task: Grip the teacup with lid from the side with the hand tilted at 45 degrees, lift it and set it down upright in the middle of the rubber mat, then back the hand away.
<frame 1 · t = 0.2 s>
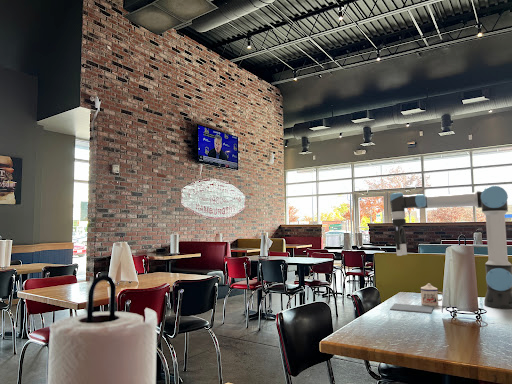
hand: (402, 255, 225), 27 cm above the table, tool pointing down, fingers open, 13 cm apart
teacup with lid: (432, 305, 216), on the table
mat: (412, 308, 206), on the table
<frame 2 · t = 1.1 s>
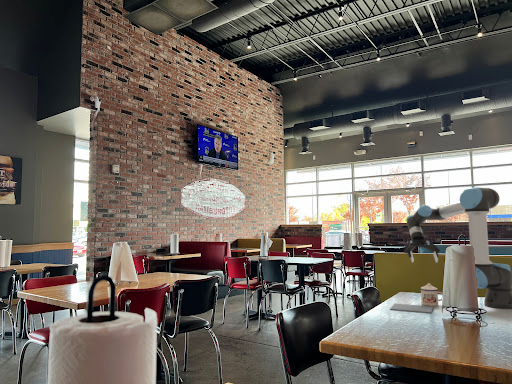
hand: (425, 261, 228), 23 cm above the table, tool tilted 45°, fingers open, 13 cm apart
nothing on the table moved.
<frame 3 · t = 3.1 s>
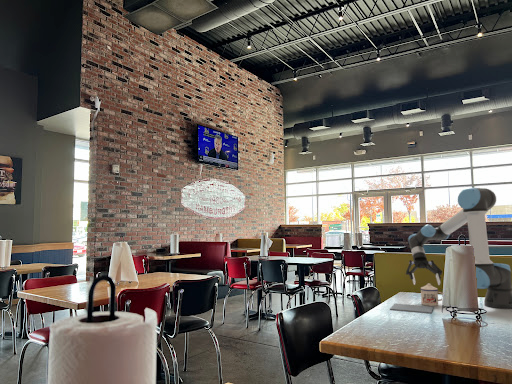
hand: (427, 283, 223), 11 cm above the table, tool tilted 45°, fingers open, 13 cm apart
nothing on the table moved.
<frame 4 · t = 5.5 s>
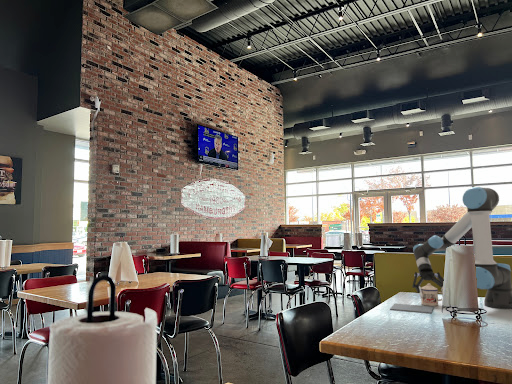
hand: (433, 297, 213), 4 cm above the table, tool tilted 45°, fingers closed on teacup with lid, 12 cm apart
teacup with lid: (432, 305, 216), on the table, touching gripper
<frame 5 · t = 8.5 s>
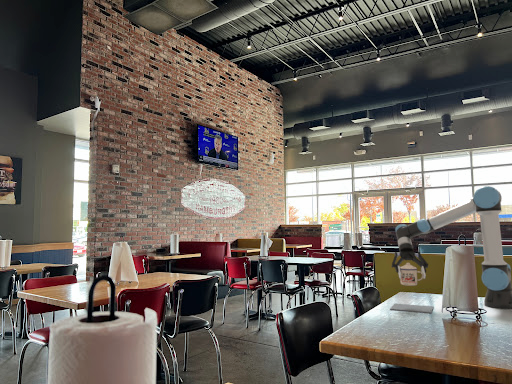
hand: (412, 277, 208), 17 cm above the table, tool tilted 45°, fingers closed on teacup with lid, 12 cm apart
teacup with lid: (411, 284, 210), point 12 cm above the table, touching gripper
when the fingers open (6 cm above the table, at t = 11.8 s): teacup with lid drops 1 cm, resting on mat.
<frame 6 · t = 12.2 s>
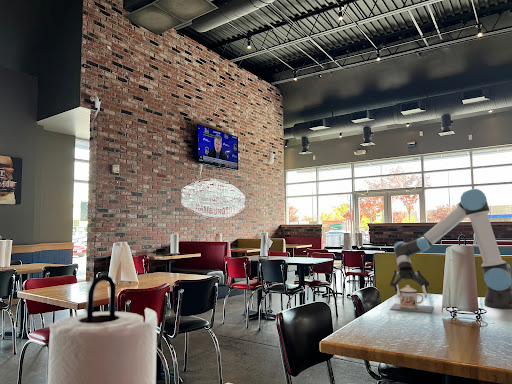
hand: (412, 296, 204), 7 cm above the table, tool tilted 45°, fingers open, 13 cm apart
teacup with lid: (411, 307, 206), resting on mat
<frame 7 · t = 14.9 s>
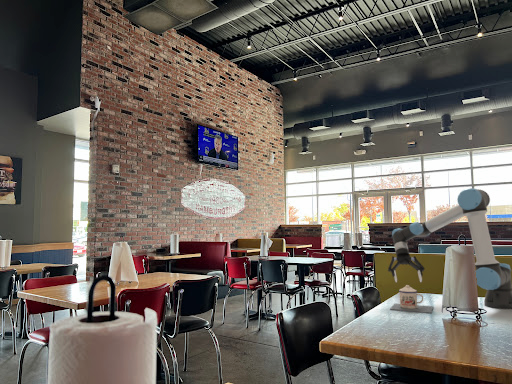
hand: (408, 281, 220), 13 cm above the table, tool tilted 40°, fingers open, 13 cm apart
nothing on the table moved.
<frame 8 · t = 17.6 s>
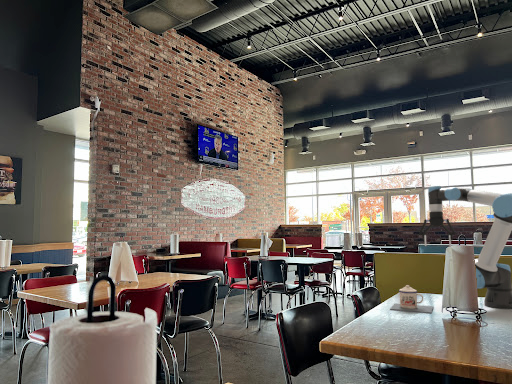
hand: (437, 246, 235), 32 cm above the table, tool pointing down, fingers open, 13 cm apart
nothing on the table moved.
at the end: teacup with lid inside the target area on the mat (0.2 cm from its centre), point 0.4 cm above the mat's base; teacup with lid tilted 0°; the gripper is holding nothing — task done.
